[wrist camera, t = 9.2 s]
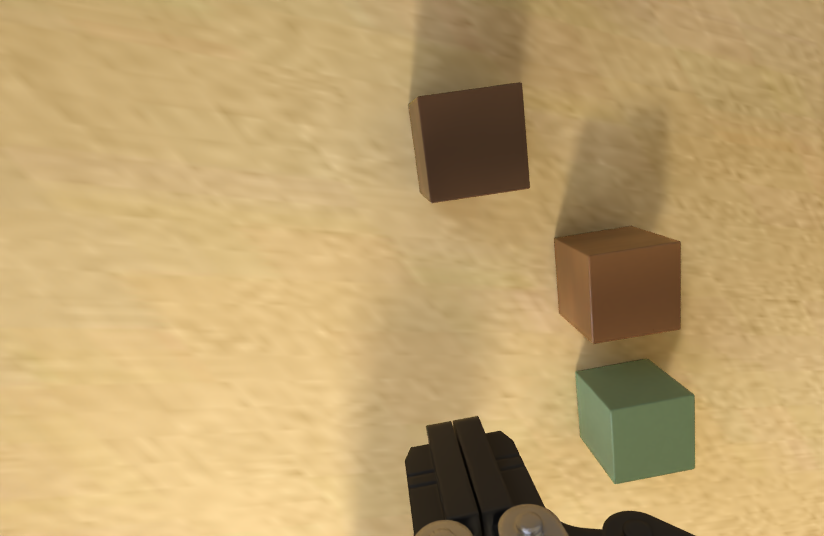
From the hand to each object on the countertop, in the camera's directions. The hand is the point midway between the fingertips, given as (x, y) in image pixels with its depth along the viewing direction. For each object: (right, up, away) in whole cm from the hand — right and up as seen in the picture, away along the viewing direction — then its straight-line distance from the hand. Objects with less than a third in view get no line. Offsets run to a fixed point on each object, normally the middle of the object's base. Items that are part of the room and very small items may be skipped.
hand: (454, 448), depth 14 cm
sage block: (+11, -3, +16) cm, 20 cm away
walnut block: (+1, +11, +12) cm, 16 cm away
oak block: (+9, +5, +14) cm, 18 cm away
